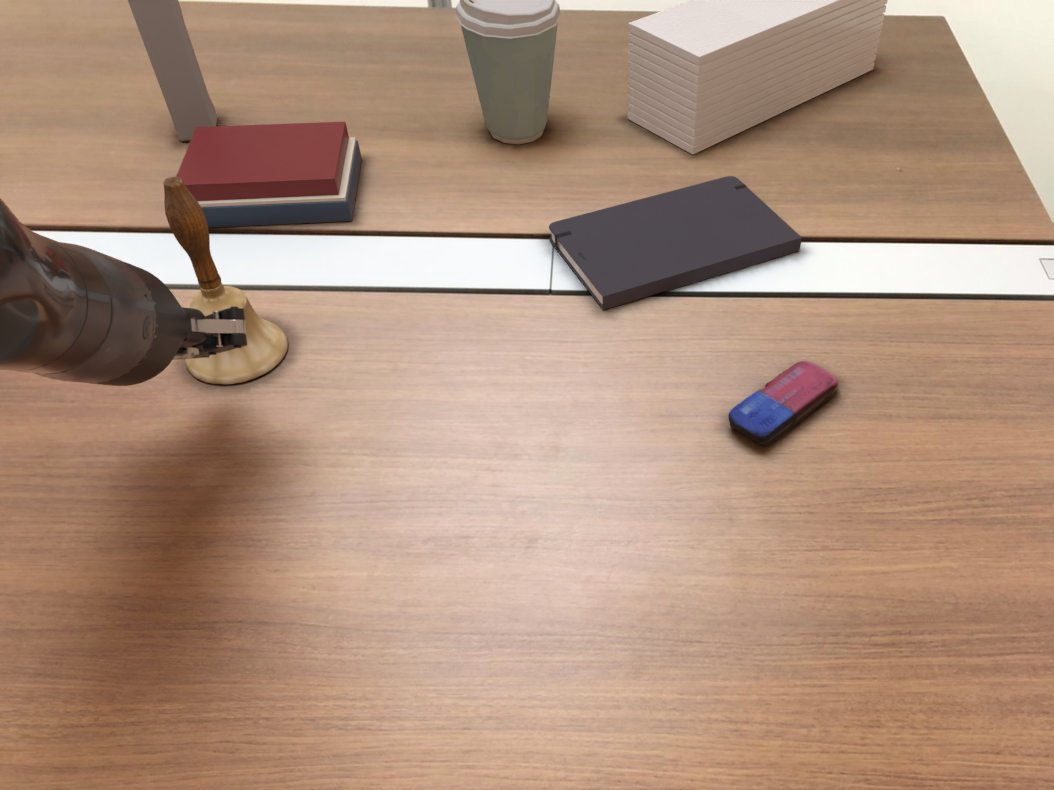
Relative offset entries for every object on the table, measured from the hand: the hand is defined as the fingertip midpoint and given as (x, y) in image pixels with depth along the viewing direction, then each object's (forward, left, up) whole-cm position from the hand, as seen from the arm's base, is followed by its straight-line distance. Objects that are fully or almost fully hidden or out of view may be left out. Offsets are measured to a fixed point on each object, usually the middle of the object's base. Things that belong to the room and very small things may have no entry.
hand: (198, 343), depth 70 cm
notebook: (+42, -11, -6) cm, 44 cm away
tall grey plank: (+21, +41, -6) cm, 47 cm away
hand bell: (+4, +5, -6) cm, 9 cm away
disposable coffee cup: (+46, +16, -6) cm, 49 cm away
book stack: (+20, +24, -6) cm, 32 cm away
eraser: (+31, -33, -6) cm, 46 cm away
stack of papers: (+72, +3, -6) cm, 73 cm away
